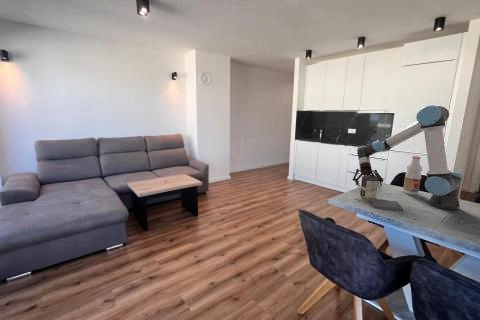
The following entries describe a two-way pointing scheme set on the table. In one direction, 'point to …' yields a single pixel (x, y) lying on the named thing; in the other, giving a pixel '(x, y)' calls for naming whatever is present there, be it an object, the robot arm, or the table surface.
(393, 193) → the table surface
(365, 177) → the coffee can
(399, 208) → the mat
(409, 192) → the fruit juice
